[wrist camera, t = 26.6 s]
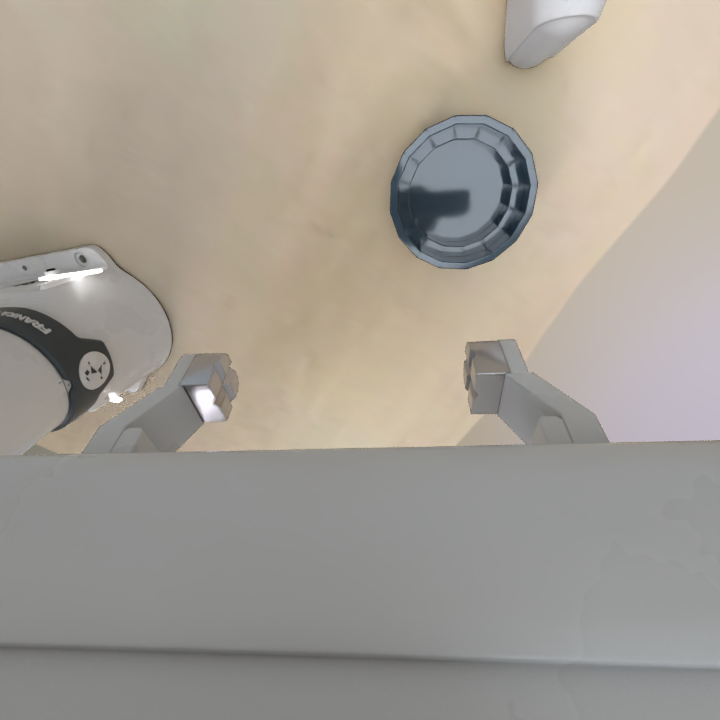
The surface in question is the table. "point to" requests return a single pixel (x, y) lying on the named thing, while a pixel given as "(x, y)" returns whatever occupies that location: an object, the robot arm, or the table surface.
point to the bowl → (463, 191)
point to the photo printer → (545, 27)
